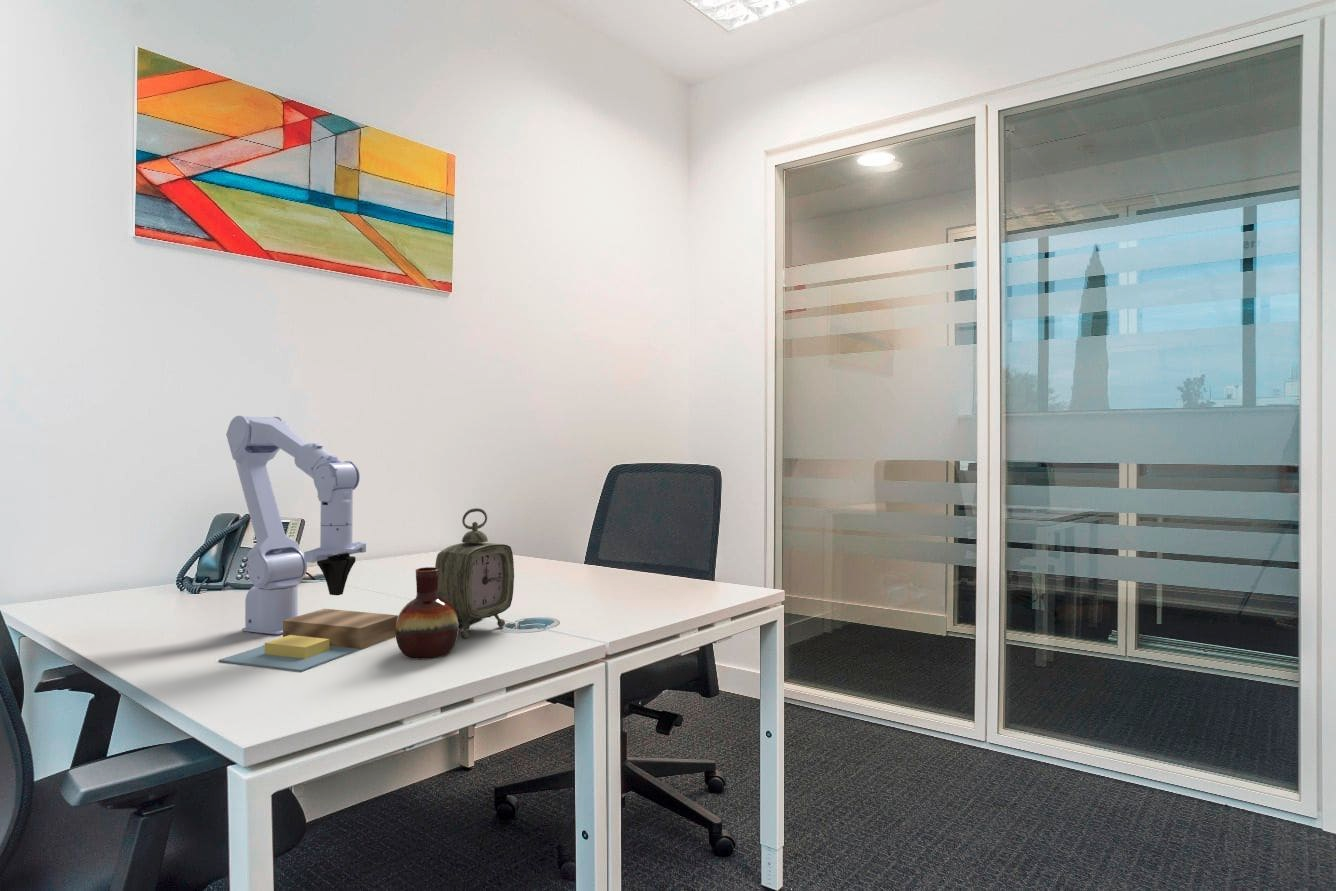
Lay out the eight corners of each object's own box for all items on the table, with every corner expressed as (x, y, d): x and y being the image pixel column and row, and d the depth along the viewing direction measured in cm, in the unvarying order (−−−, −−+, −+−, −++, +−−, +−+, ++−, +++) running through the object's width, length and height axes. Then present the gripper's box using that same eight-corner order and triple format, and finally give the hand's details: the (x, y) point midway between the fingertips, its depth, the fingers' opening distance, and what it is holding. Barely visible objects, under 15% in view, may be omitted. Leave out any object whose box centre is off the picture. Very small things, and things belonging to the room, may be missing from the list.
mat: (218, 661, 138) (218, 659, 138) (280, 641, 151) (280, 640, 151) (301, 671, 132) (301, 669, 132) (358, 650, 146) (358, 648, 146)
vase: (390, 663, 137) (390, 575, 137) (399, 646, 148) (399, 564, 148) (456, 660, 140) (456, 573, 139) (460, 644, 150) (460, 563, 150)
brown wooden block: (282, 641, 152) (282, 620, 152) (324, 628, 162) (324, 608, 162) (360, 649, 146) (360, 628, 146) (398, 635, 156) (398, 615, 156)
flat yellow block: (289, 634, 147) (289, 645, 147) (264, 642, 142) (264, 654, 142) (329, 639, 145) (329, 649, 145) (305, 647, 139) (305, 658, 139)
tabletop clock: (464, 642, 152) (465, 512, 152) (430, 636, 156) (430, 510, 156) (513, 626, 164) (514, 506, 164) (481, 621, 169) (481, 504, 169)
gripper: (325, 529, 144) (325, 603, 144) (378, 521, 158) (378, 589, 158) (295, 527, 147) (294, 600, 147) (350, 519, 160) (349, 586, 160)
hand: (336, 594), depth 153 cm, fingers closed
